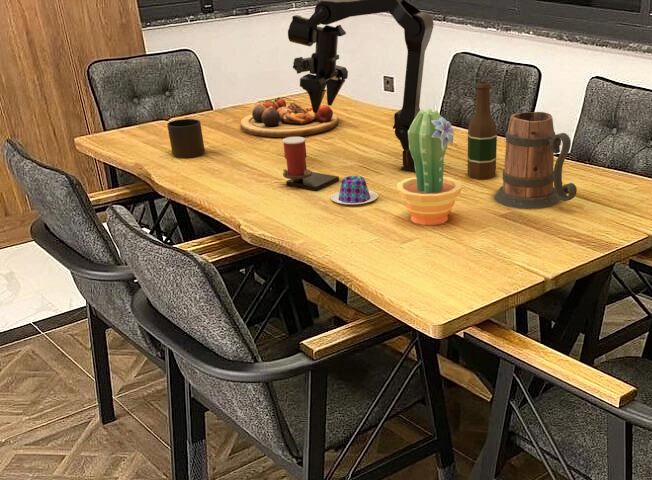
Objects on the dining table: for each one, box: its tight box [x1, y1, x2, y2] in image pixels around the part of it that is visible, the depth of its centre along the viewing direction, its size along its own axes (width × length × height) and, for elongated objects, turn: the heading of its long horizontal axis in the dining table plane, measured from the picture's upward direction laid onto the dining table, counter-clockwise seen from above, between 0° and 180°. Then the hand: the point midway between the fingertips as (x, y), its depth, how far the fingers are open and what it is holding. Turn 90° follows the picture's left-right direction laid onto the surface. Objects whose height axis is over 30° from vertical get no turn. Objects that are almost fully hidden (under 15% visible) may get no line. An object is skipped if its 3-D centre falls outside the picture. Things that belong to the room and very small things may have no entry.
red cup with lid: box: [282, 136, 308, 175], centre depth 218 cm, size 6×6×9 cm
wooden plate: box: [239, 96, 339, 138], centre depth 273 cm, size 32×32×8 cm
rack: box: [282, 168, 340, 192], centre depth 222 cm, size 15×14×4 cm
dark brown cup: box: [166, 118, 206, 159], centre depth 247 cm, size 9×12×9 cm
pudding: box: [330, 175, 379, 205], centre depth 210 cm, size 12×12×5 cm
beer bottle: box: [467, 81, 498, 180], centre depth 220 cm, size 8×8×24 cm
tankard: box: [493, 111, 578, 210], centre depth 203 cm, size 24×17×20 cm
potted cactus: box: [396, 108, 462, 226], centre depth 192 cm, size 15×15×25 cm
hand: (322, 109), depth 233 cm, fingers open, 9 cm apart
